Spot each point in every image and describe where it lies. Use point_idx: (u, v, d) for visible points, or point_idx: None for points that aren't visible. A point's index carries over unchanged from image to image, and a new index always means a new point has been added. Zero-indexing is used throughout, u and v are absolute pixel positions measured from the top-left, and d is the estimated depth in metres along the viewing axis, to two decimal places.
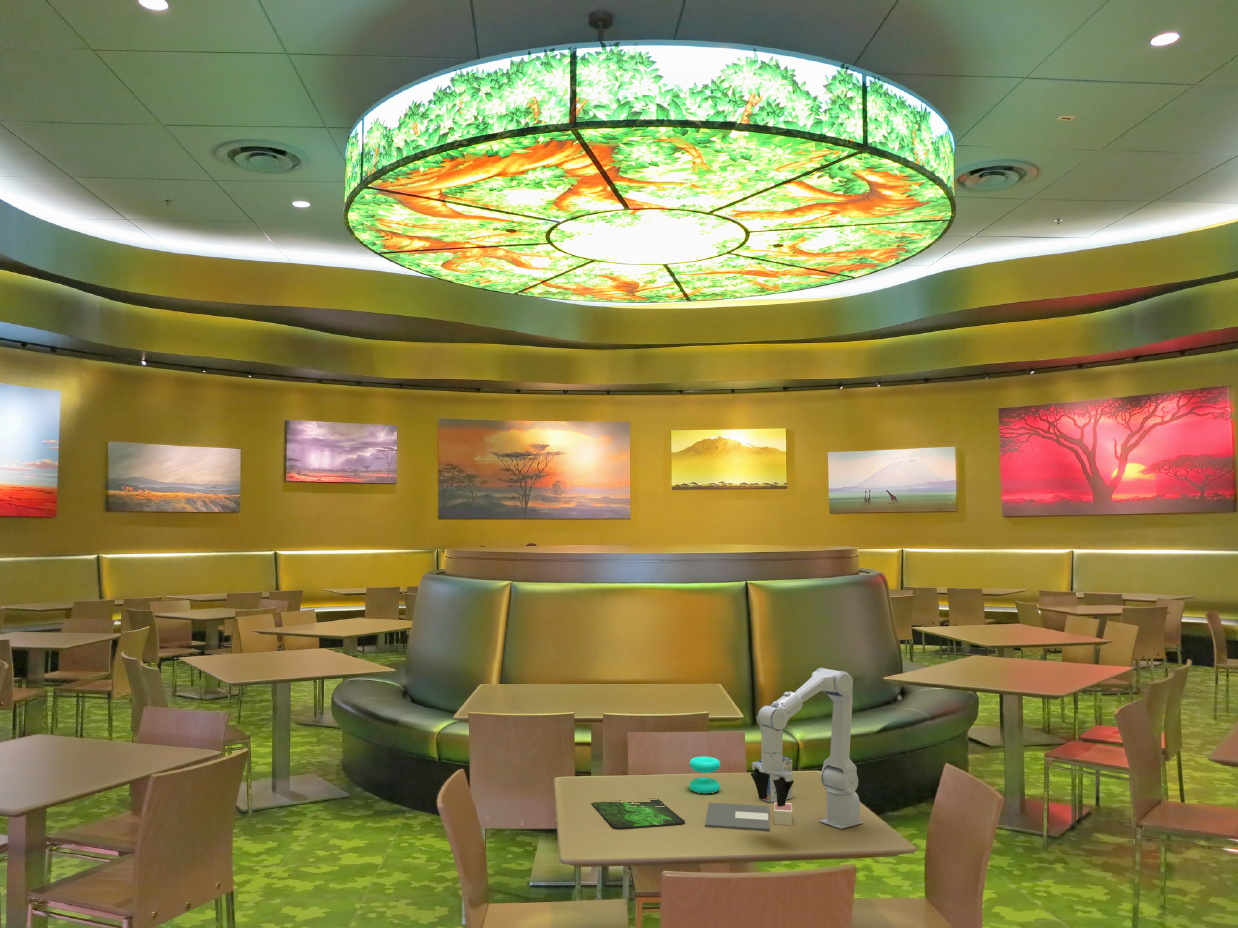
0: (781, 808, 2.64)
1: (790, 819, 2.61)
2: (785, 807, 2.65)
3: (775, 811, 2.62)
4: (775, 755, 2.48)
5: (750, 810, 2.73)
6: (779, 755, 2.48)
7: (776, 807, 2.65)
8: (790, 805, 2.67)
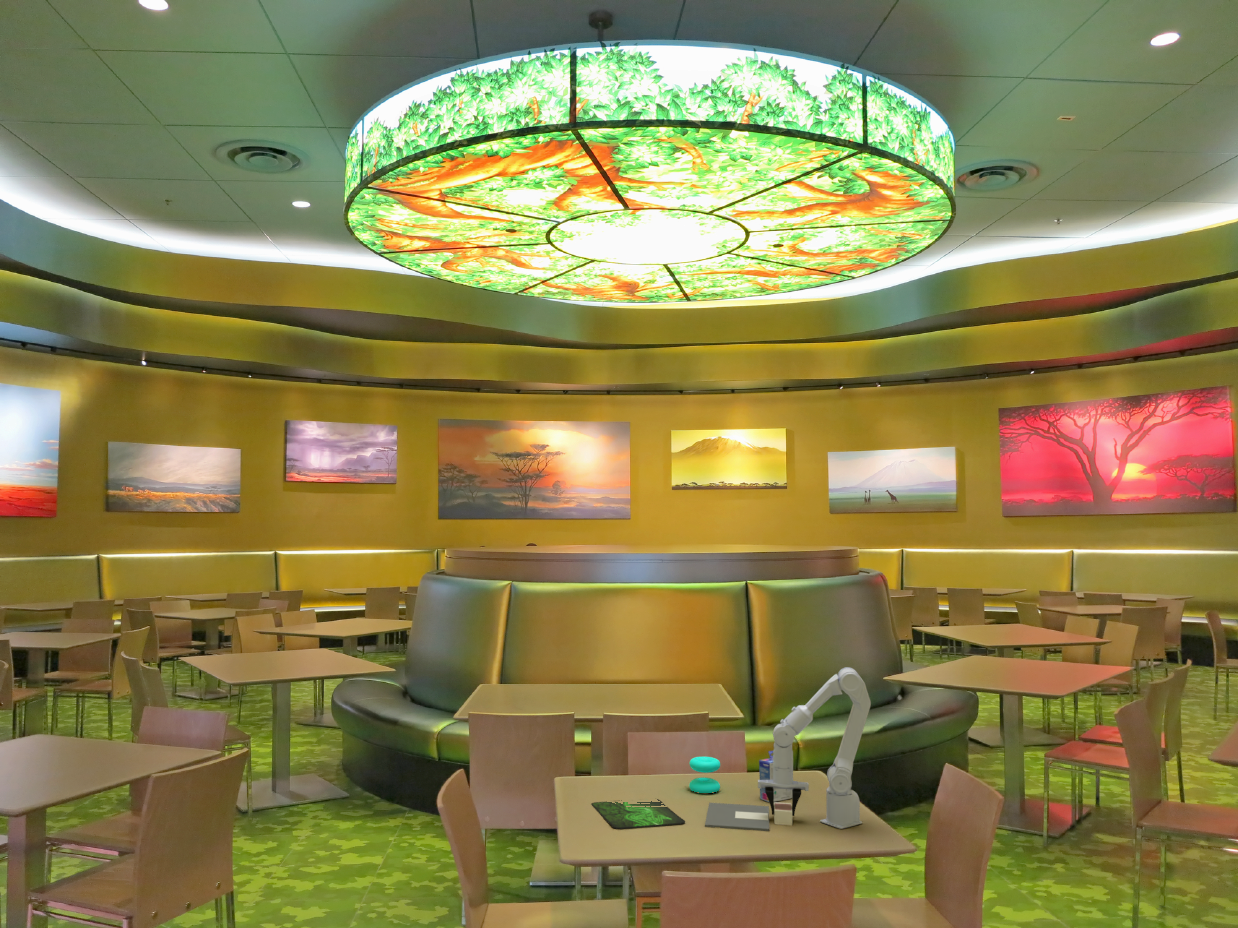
0: (781, 808, 2.64)
1: (790, 819, 2.61)
2: (785, 807, 2.65)
3: (775, 811, 2.62)
4: None
5: (750, 810, 2.73)
6: (773, 768, 2.67)
7: (776, 807, 2.65)
8: (790, 805, 2.67)
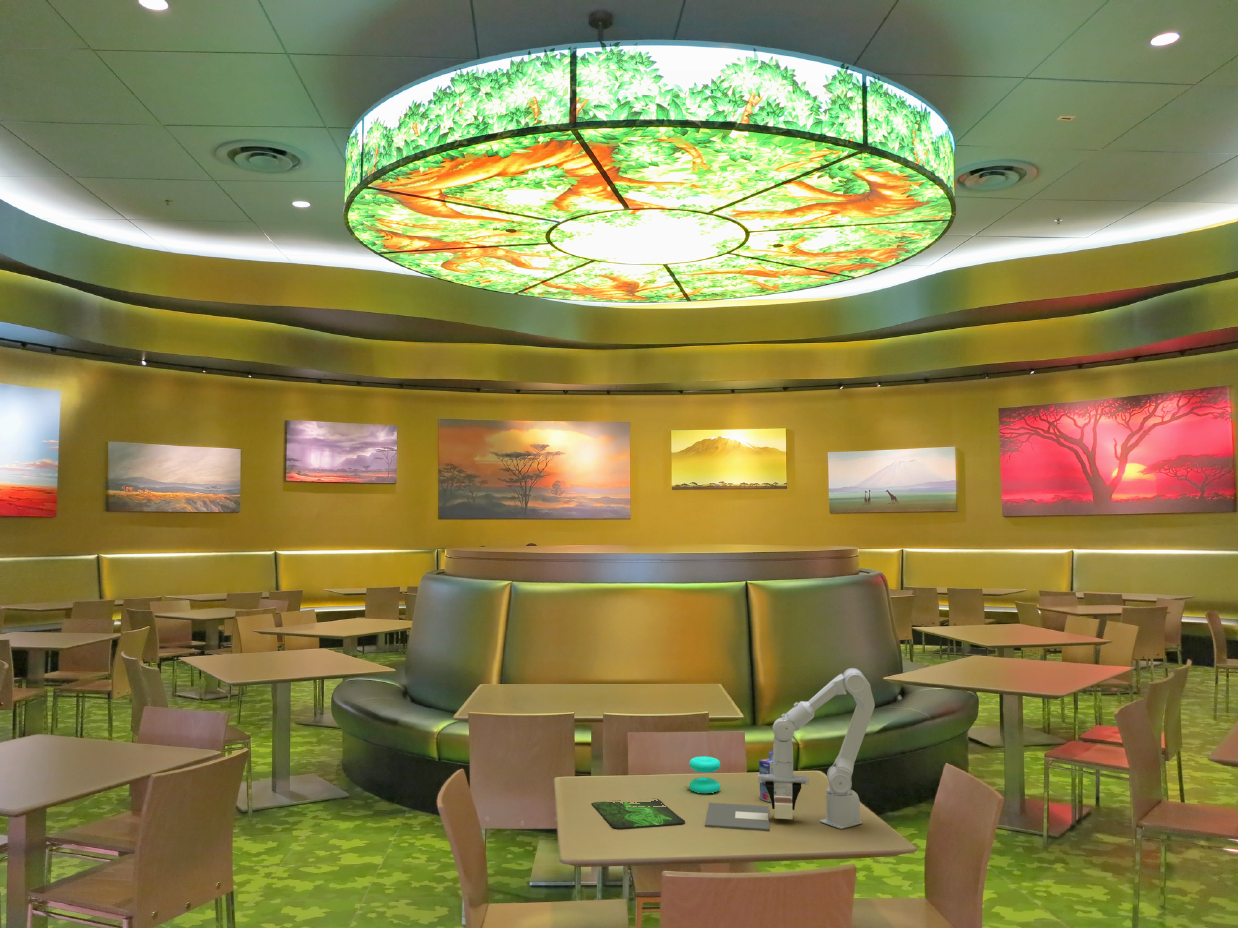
0: (781, 801, 2.64)
1: (790, 812, 2.61)
2: (785, 800, 2.65)
3: (775, 804, 2.62)
4: None
5: (750, 810, 2.73)
6: (773, 762, 2.67)
7: (776, 801, 2.65)
8: (790, 798, 2.68)
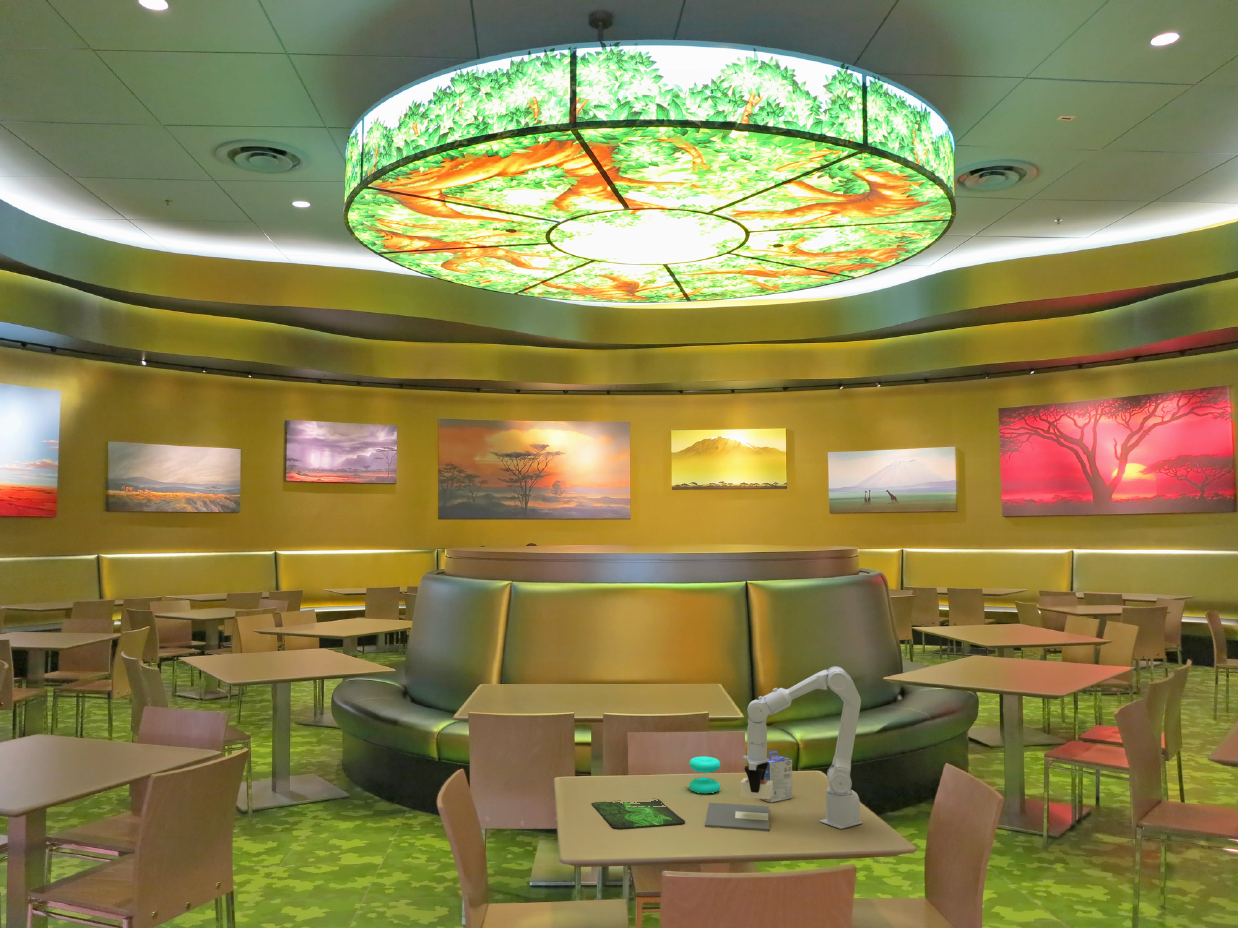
0: (762, 782, 2.67)
1: (772, 788, 2.68)
2: None
3: (769, 785, 2.64)
4: (751, 745, 2.66)
5: (750, 810, 2.73)
6: (755, 746, 2.66)
7: (760, 783, 2.65)
8: None
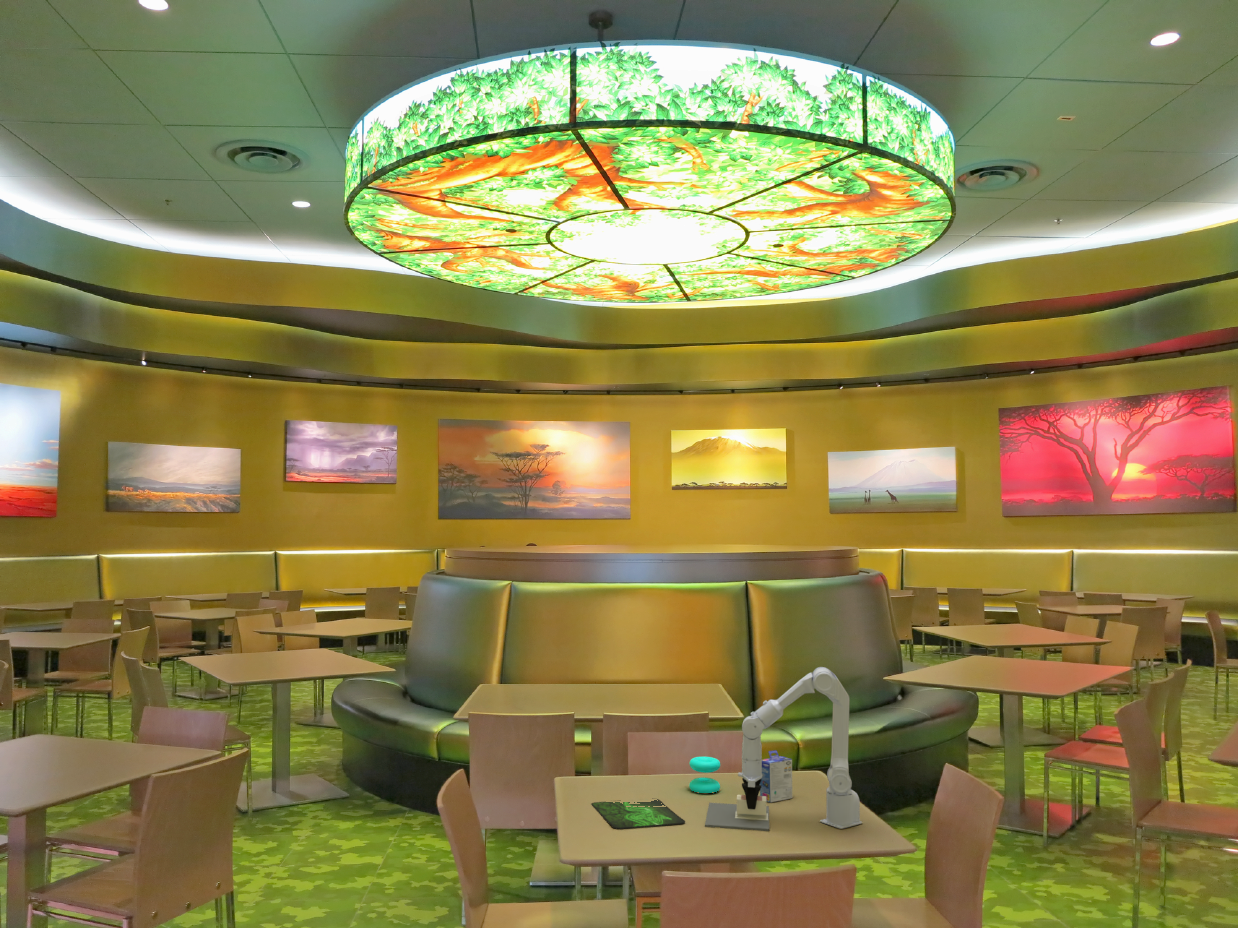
0: (758, 798, 2.67)
1: None
2: None
3: None
4: (748, 762, 2.66)
5: None
6: (751, 763, 2.66)
7: None
8: None
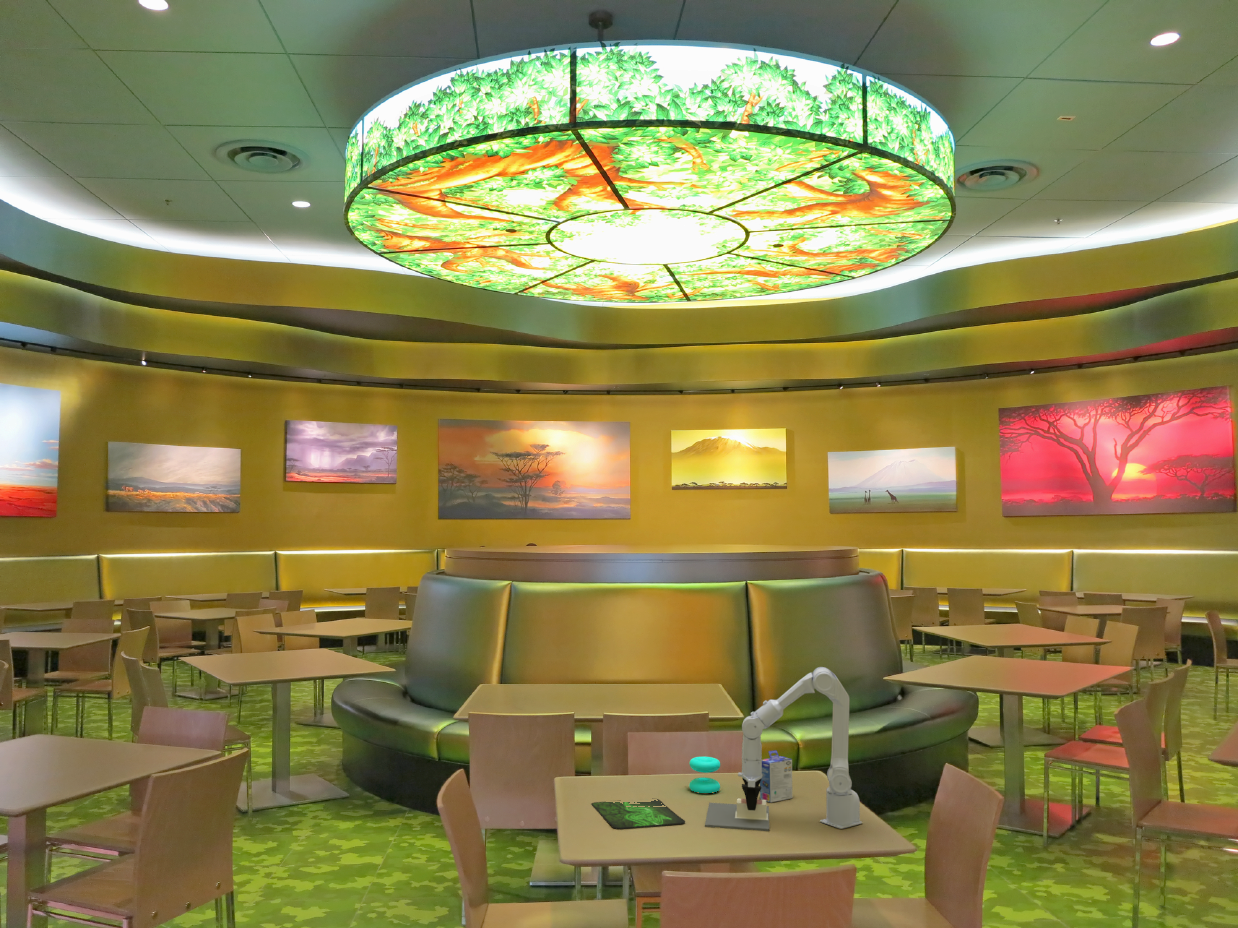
0: (758, 802, 2.67)
1: None
2: None
3: None
4: (748, 762, 2.66)
5: None
6: (751, 763, 2.66)
7: None
8: None
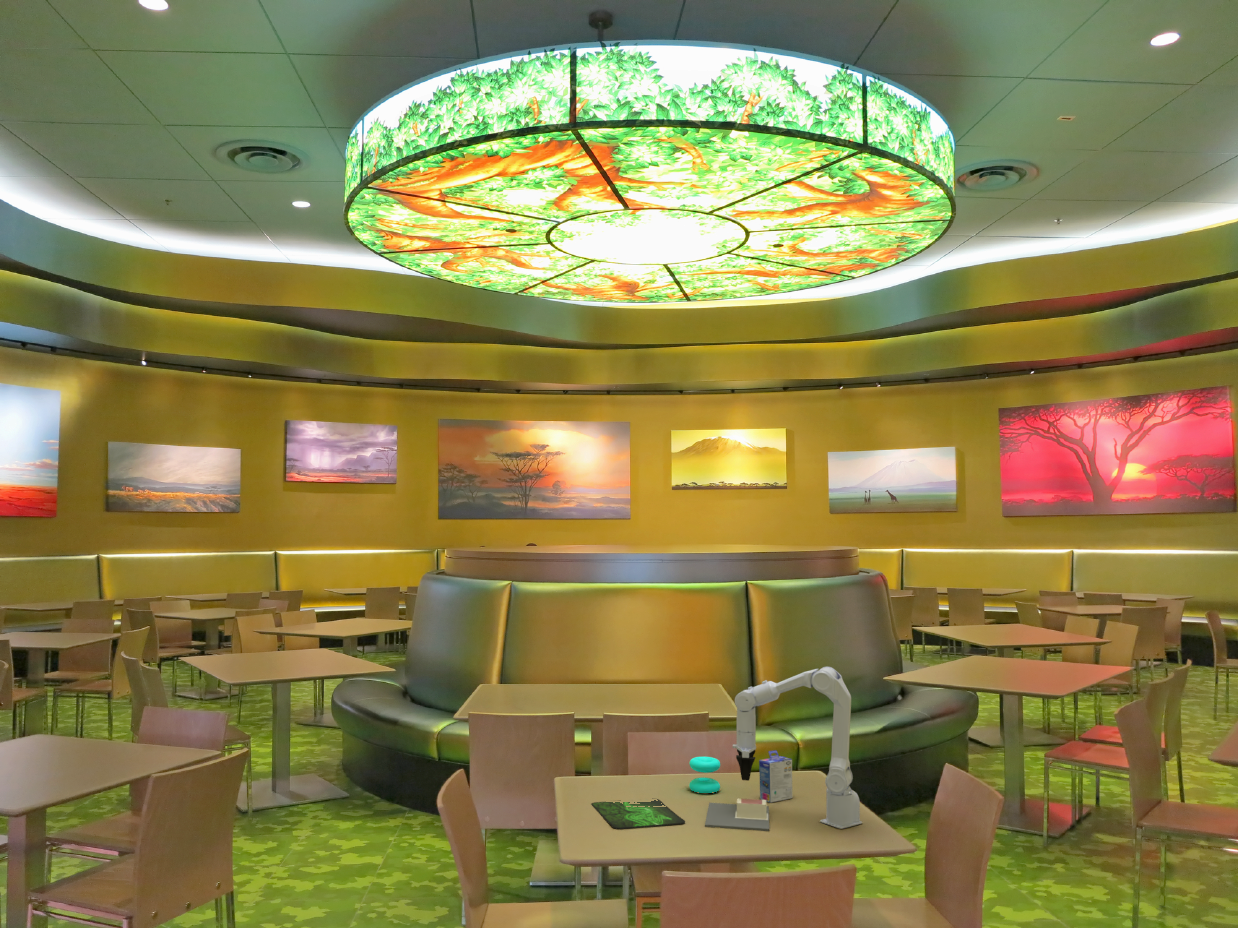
0: (758, 802, 2.67)
1: None
2: (753, 800, 2.68)
3: None
4: (742, 733, 2.74)
5: None
6: (746, 734, 2.73)
7: (756, 803, 2.65)
8: None
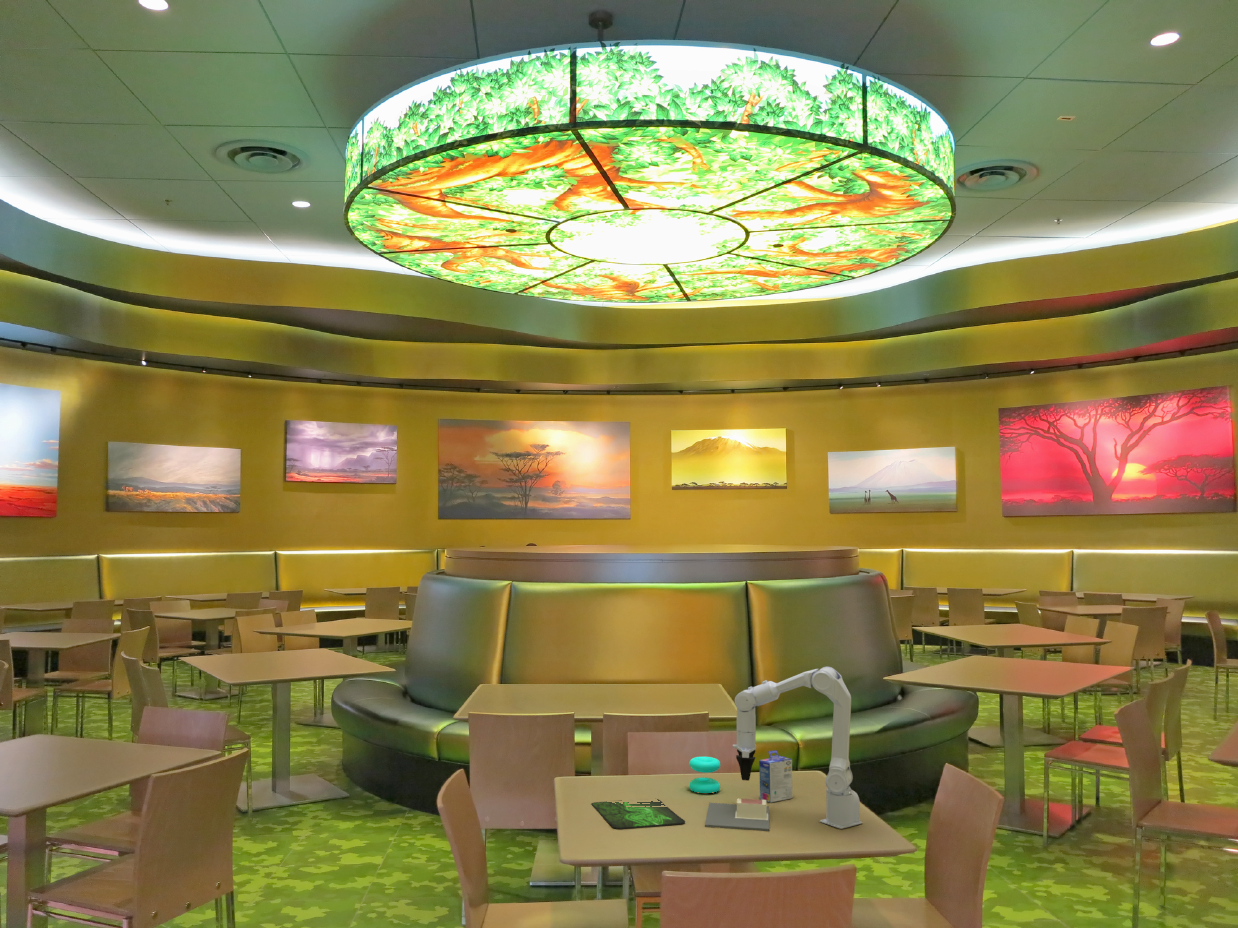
0: (758, 802, 2.67)
1: None
2: (753, 800, 2.68)
3: None
4: (742, 733, 2.74)
5: None
6: (746, 734, 2.73)
7: (756, 803, 2.65)
8: None
